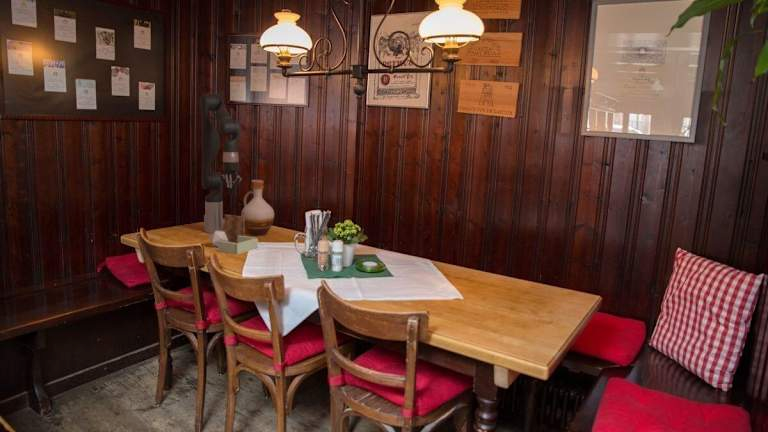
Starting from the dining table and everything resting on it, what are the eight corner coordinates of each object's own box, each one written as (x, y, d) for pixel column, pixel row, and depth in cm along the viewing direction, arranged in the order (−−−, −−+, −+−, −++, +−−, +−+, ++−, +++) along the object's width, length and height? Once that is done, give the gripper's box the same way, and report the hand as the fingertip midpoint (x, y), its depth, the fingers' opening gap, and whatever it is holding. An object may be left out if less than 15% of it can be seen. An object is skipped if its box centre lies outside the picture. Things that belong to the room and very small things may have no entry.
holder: (218, 251, 277) (218, 241, 277) (239, 245, 291) (239, 235, 290) (237, 254, 273) (237, 244, 272) (257, 247, 286) (257, 238, 285)
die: (231, 247, 289) (226, 230, 292) (225, 242, 281) (221, 224, 284) (216, 252, 289) (211, 235, 292) (210, 248, 280) (205, 230, 284)
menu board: (222, 241, 297) (221, 215, 294) (228, 240, 301) (228, 213, 299) (240, 244, 292) (240, 217, 289) (247, 242, 296) (247, 216, 294)
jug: (232, 234, 315) (231, 179, 310) (256, 229, 330) (255, 177, 324) (257, 239, 305) (257, 183, 299) (281, 234, 319) (281, 180, 314)
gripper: (246, 161, 288) (246, 195, 291) (225, 159, 293) (226, 193, 296) (236, 162, 281) (237, 197, 284) (215, 160, 286) (216, 194, 290)
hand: (231, 195), depth 290 cm, fingers closed
